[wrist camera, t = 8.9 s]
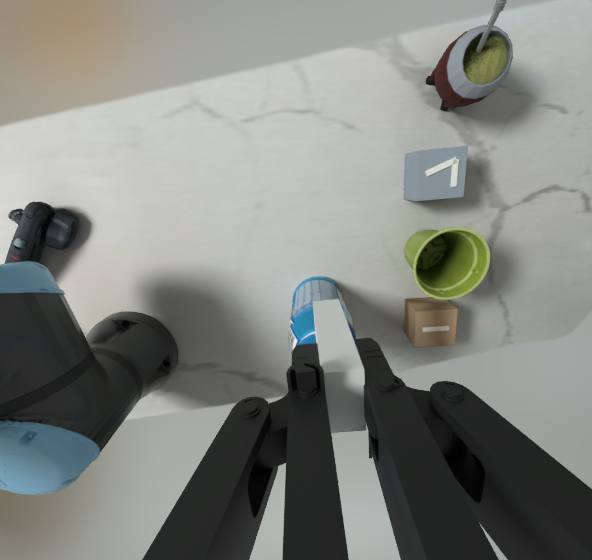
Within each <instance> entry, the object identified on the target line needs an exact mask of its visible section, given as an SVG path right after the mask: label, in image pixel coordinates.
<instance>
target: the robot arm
mask: <svg viewBox="0 0 592 560" xmlns="http://www.w3.org/2000/svg"><path fill="white" fill-rule="evenodd" d="M64 294H65V293H64V291H63V290H61V289H60V288H59V286H58V285H57V283H56V281H55V280H54V278H53V276H52V275H51V273H50V271H49V270H48V269H47V268H46V267H45V266H44V265H42V264H40V263H37V262H31V261H25V262H16V263H9V264H1V265H0V489H3V490H8V491H10V492H15V493H20V494H30V495H38V494H48V493H53V492H56V491H59V490H62V489H64V488H66V487H67V486H69V485H71V484H72V483H73V482H75V481H76V480H77V479H78V478H79V476H80V475H81V474H82V473H83V472H84V471H85V469H86V468H87V467H88V466H89V464H91V463H92V461H94V460H95V459H96V458H97V457H98V456H99V454H100V452H101V451H102V449H103V448H104V447H105V445H106V444H107V443H108V441H109V440H110V438H111V437H112V435H113V434H114V433H115V432H116V430H117V429H118V427H119V426H120V425H121V424H122V422H123V421H124V420H125V418H126V417H127V416H128V414H129V413H130V412H131V410H132V409H133V407H134V406H135V405H136V403H137V402H138V401H139V400H140V399H142V398H143V397H145V396H146V395H148V394H149V393H151V392H152V391H154V390H155V389H157V388H158V387H160V386H161V385H163V384H164V383H165V382H166V381H167V379H168V378H169V377H170V375H171V374H172V372H173V371H174V369H175V367H176V365H177V361H178V351H177V346H176V343H175V341H174V339H173V337H172V335H171V334H170V333H169V331H168V330H167V329H166V328H165V327H164V326H163V325H162V324H160V323H159V322H158V321H156V320H155V319H153V318H151V317H149V316H147V315H144V314H141V313H136V312H119V313H115V314H112V315H110V316H108V317H106V318H105V319H103V320H102V321H101V322H99V323H98V324H96V325H95V326H94V327H93V328H92V329H91V331H90V332H89V334H88V335H87V337H86V338H85V336H84V334H83V332H82V330H81V328H80V326H79V324H78V322H77V320H76V318H75V316H74V314H73V312H72V310H71V308H70V306H69V304H68V302H67V300H66V299H65V297H64ZM313 312H314V324H315V336H316V343H312V344H300V345H296V346H295V348H294V349H293V351H292V366H291V367H290V368H289V369H288V370H287V373H286V374H287V382H288V390H289V392H288V394H287V395H286V396H285V397H283V398H282V399H280V400H278V401H276V402H272V403H269V404H268V402H267V401H266V400H265V399H263V398H260V397H249V398H246V399H243V400H241V401H240V402H238V403H237V404H236V405H235V406H234V407H233V409H232V410H231V412H230V414H229V415H228V417H227V419H226V420H225V422H224V424H223V425H222V427H221V429H220V430H219V432H218V434H217V435H216V437H215V439H214V440H213V442H212V444H211V445H210V447H209V449H208V450H207V452H206V454H205V456H204V457H203V459H202V461H201V462H200V464H199V466H198V468H197V469H196V471H195V472H194V474H193V476H192V477H191V479H190V481H189V482H188V484H187V486H186V487H185V489H184V491H183V492H182V494H181V496H180V497H179V499H178V501H177V502H176V504H175V506H174V507H173V509H172V511H171V512H170V514H169V516H168V517H167V519H166V521H165V523H164V524H163V526H162V528H161V530H160V531H159V533H158V534H157V536H156V538H155V539H154V541H153V543H152V544H151V546H150V548H149V550H148V551H147V553H146V555H145V556H144V558H143V559H142V560H249V558H250V555H251V552H252V549H253V546H254V543H255V540H256V536H257V533H258V530H259V527H260V524H261V521H262V518H263V514H264V511H265V508H266V505H267V502H268V499H269V495H270V492H271V489H272V486H273V483H274V480H275V477H276V474H277V470H278V466H279V465H282V464H284V463H286V483H285V509H284V510H285V511H284V537H283V560H349V559H348V552H347V544H346V537H345V530H344V524H343V516H342V508H341V501H340V494H339V487H338V480H337V472H336V465H335V458H334V451H333V444H332V437H331V433H334V432H348V431H361V430H362V431H363V430H366V423H367V427H368V430H369V458H372V455H373V459H374V463H375V466H376V470H377V474H378V477H379V481H380V485H381V488H382V492H383V496H384V499H385V503H386V507H387V510H388V514H389V517H390V521H391V525H392V528H393V532H394V536H395V540H396V543H397V547H398V550H399V554H400V558H401V560H499V559H498V558H497V556H496V554H495V552H494V550H493V548H492V546H491V545H490V543H489V541H488V539H487V537H486V535H485V533H484V531H483V529H482V528H481V526H480V524H481V525H482V527H483V528H484V529H485V530H486V532H487V533H488V534H489V536H490V537H491V538H492V540H493V541H494V542H495V543H496V545H497V546H498V547H499V549H500V550H501V551H502V553H503V554H504V555H505V557H506V558H507V559H508V560H592V489H591V488H590V487H588V486H587V485H586V484H584V483H583V482H582V481H581V480H580V479H579V478H577V477H576V476H575V475H574V474H572V473H571V472H570V471H569V470H567V469H566V468H565V467H564V466H562V465H561V464H560V463H559V462H558V461H556V460H555V459H554V458H553V457H551V456H550V455H549V454H548V453H547V452H545V451H544V450H543V449H541V448H540V447H539V446H538V445H537V444H535V443H534V442H533V441H532V440H531V439H529V438H528V437H527V436H526V435H524V434H523V433H522V432H521V431H519V430H518V429H517V428H516V427H515V426H513V425H512V424H511V423H510V422H508V421H507V420H506V419H505V418H503V417H502V416H501V415H500V414H499V413H497V412H496V411H495V410H494V409H492V408H491V407H490V406H489V405H487V404H486V403H485V402H484V401H482V400H481V399H480V398H479V397H478V396H476V395H475V394H474V393H473V392H471V391H470V390H469V389H467V388H466V387H464V386H463V385H460V384H457V383H455V382H448V381H441V382H437V383H435V384H433V385H432V386H431V388H430V391H424V390H417V389H412V388H409V387H407V386H406V385H405V383H404V382H403V381H402V380H401V379H400V378H398V377H397V376H395V375H394V374H393V372H392V370H391V368H390V366H389V364H388V362H387V360H386V358H385V357H384V354H383V352H382V351H381V348H380V346H379V344H378V343H377V342H376V341H374V340H373V339H371V338H363V339H353V337H352V334H351V331H350V329H349V326H348V323H347V320H346V317H345V315H344V312H343V309H342V306H341V304H340V301H339V299H333V300H322V301H313ZM478 521H479V522H478ZM479 523H480V524H479Z"/></svg>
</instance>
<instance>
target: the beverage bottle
mask: <svg viewBox="0 0 592 560" xmlns="http://www.w3.org/2000/svg"><path fill="white" fill-rule="evenodd" d="M333 299H339V301H340V304H341V306H342V309H343V312H344V315H345V317H346V320H347V323H348V326H349V329H350V331H351V334H352V337H353V339H356V335H355V331H354V328H353V322H352V318H351V316H350V314H349V312H348V311H347V308H346V305H345V302H344V299H343V295H342V292H341V289H340V288H339V286H338V285H337V284H336V283H335V282H334V281H332V280H331V279H328V278H326V277H320V276H316V277H311V278H308V279H306V280H304V281H302V282H301V283H300V284H299V285H298V286H297V288H296V290H295V292H294V295H293V305H292V313H291V318H290V321H289V327H288V331H289V335H288V344H289V348H290V351H291V353H292V351H293V349H294V348H295V346H296V345H300V344H312V343H316V336H315V324H314V312H313V301H322V300H333Z"/></svg>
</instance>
